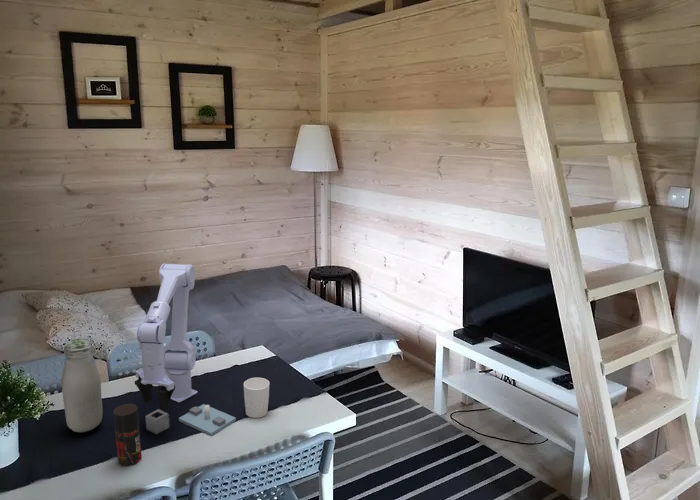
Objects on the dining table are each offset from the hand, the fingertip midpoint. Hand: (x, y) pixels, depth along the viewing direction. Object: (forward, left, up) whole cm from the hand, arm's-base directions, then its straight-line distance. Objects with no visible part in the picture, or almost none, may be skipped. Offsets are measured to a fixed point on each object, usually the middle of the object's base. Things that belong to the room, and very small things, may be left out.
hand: (156, 405), depth 161 cm
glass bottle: (-17, -12, -8) cm, 22 cm away
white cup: (+18, +23, -8) cm, 30 cm away
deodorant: (+6, -14, -8) cm, 17 cm away
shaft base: (+9, +11, -8) cm, 16 cm away
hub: (0, 0, -8) cm, 8 cm away
